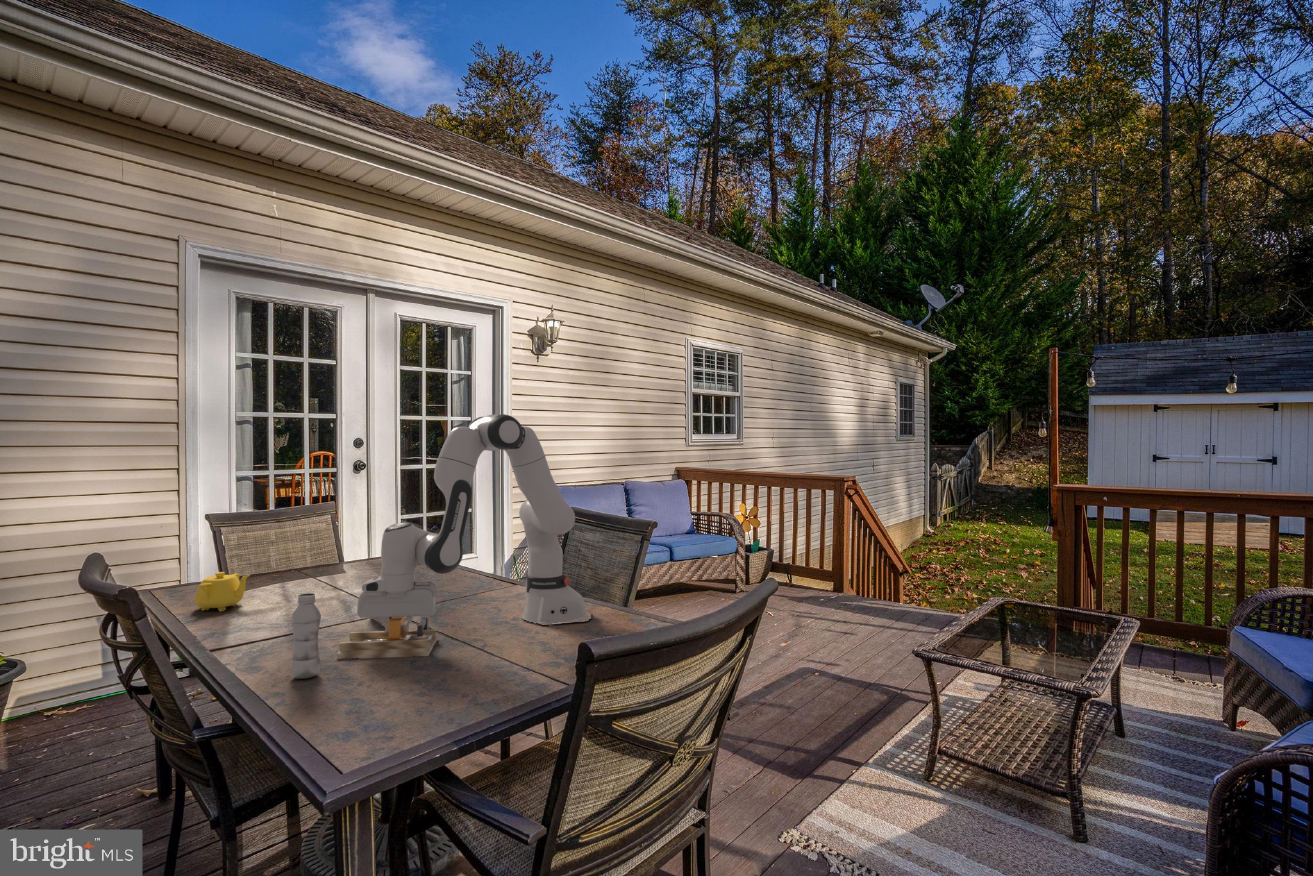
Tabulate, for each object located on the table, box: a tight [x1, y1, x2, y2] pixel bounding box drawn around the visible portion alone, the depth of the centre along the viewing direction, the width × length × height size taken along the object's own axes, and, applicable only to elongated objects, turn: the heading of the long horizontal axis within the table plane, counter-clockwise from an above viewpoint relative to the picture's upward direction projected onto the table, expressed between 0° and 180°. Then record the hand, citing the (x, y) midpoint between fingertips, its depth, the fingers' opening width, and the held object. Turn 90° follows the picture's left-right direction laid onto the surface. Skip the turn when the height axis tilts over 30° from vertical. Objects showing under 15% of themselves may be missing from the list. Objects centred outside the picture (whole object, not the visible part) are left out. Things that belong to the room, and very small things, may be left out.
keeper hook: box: [416, 616, 430, 637], centre depth 181 cm, size 2×8×5 cm, turn 10°
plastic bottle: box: [289, 592, 322, 680], centre depth 156 cm, size 6×7×20 cm
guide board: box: [336, 629, 438, 660], centre depth 177 cm, size 23×14×4 cm, turn 100°
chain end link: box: [364, 617, 433, 641], centre depth 177 cm, size 18×7×7 cm, turn 100°
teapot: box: [194, 571, 251, 611], centre depth 213 cm, size 14×14×12 cm
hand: (396, 632), depth 177 cm, fingers closed on chain end link, 3 cm apart
